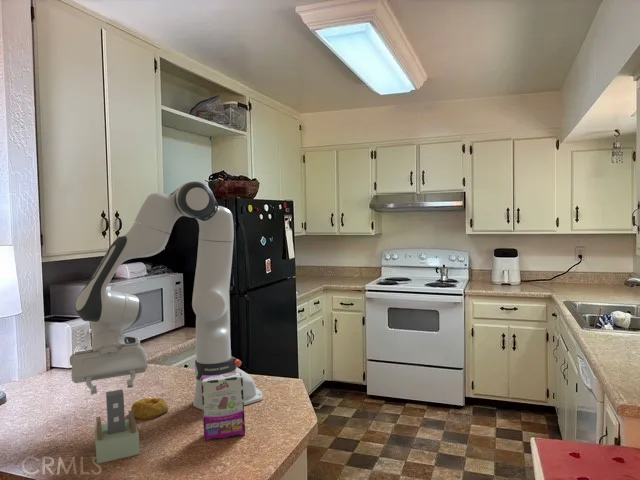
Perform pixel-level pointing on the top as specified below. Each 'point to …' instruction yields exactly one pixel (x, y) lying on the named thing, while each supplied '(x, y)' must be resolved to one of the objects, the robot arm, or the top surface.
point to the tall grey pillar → (115, 411)
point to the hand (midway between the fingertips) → (112, 389)
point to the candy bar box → (223, 406)
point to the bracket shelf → (116, 441)
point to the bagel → (149, 408)
